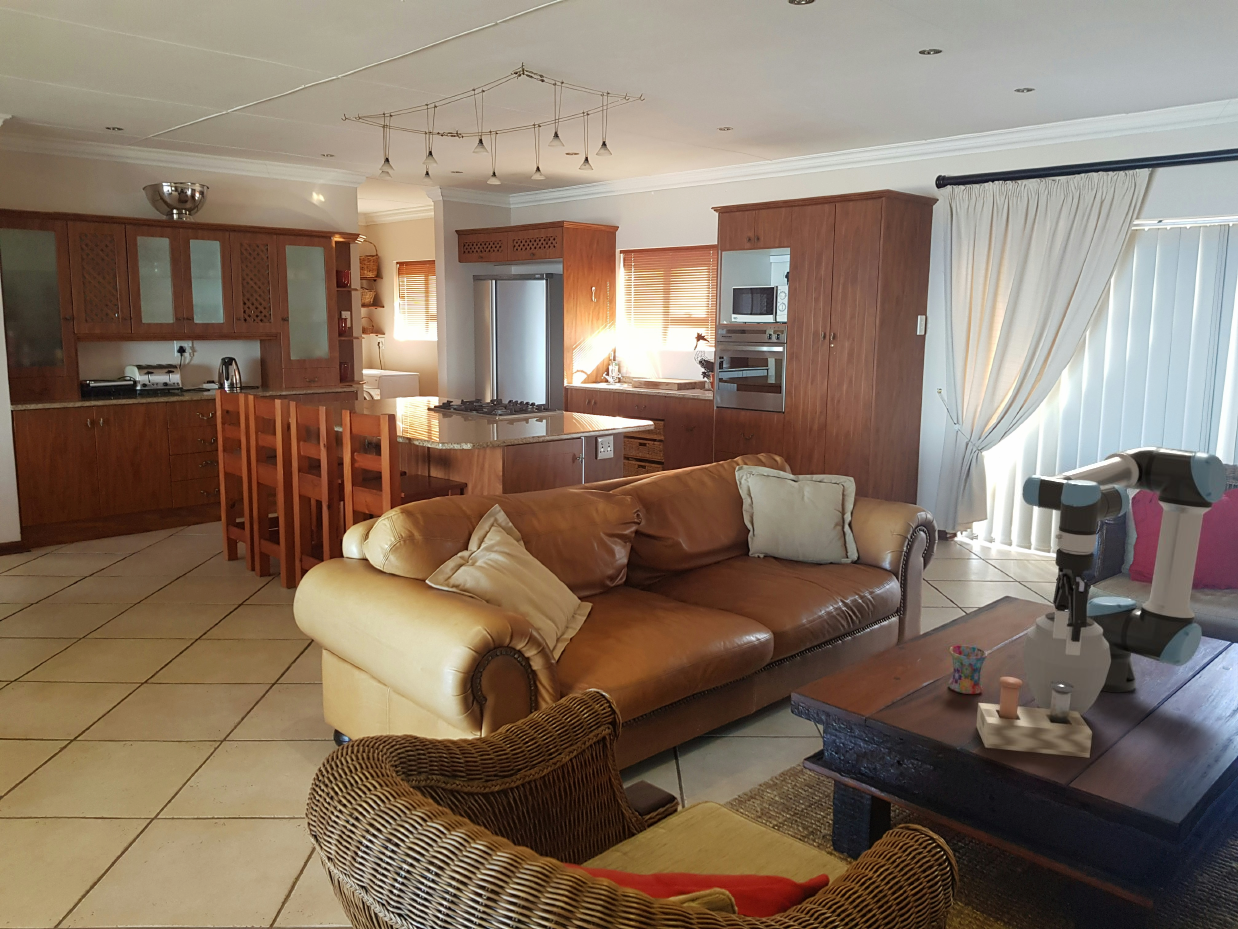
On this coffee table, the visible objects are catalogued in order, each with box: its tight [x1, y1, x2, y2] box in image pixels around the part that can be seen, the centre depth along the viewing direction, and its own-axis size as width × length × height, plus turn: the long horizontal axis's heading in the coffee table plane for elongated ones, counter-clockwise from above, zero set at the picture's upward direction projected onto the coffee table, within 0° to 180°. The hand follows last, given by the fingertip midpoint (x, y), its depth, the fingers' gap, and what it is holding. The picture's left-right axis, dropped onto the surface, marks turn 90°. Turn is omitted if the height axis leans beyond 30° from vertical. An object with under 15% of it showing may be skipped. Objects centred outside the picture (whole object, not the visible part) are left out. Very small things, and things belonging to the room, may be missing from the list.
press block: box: [976, 702, 1093, 758], centre depth 211 cm, size 22×11×6 cm, turn 79°
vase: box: [1022, 611, 1111, 717], centre depth 225 cm, size 20×20×24 cm
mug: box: [947, 644, 988, 695], centre depth 240 cm, size 12×9×11 cm
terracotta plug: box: [999, 676, 1023, 720], centre depth 211 cm, size 5×5×9 cm
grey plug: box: [1050, 681, 1074, 724], centre depth 209 cm, size 5×5×9 cm
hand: (1065, 646), depth 207 cm, fingers open, 10 cm apart
